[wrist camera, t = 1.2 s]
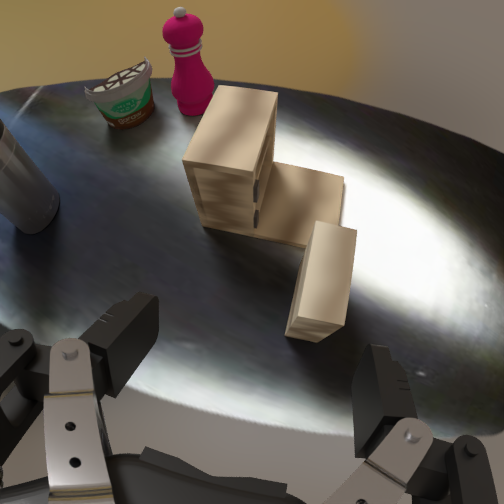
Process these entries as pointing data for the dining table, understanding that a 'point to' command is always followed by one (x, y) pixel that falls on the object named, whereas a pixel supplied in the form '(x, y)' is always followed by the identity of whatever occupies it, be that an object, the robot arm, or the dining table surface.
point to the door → (322, 283)
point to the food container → (125, 96)
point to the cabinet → (254, 173)
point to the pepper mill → (188, 63)
